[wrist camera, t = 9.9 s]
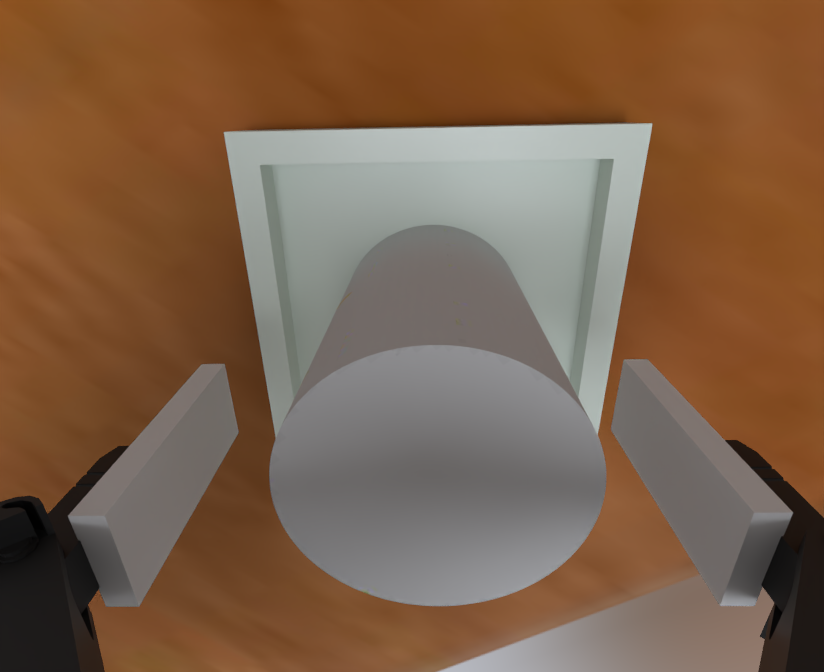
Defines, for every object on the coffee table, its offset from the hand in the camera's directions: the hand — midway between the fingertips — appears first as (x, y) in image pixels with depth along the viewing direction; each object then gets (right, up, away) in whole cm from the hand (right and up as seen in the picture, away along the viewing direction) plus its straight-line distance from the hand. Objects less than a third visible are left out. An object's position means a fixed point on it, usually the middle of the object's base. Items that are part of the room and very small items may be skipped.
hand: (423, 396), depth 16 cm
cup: (+1, +3, +7) cm, 8 cm away
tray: (+1, +4, +7) cm, 8 cm away
